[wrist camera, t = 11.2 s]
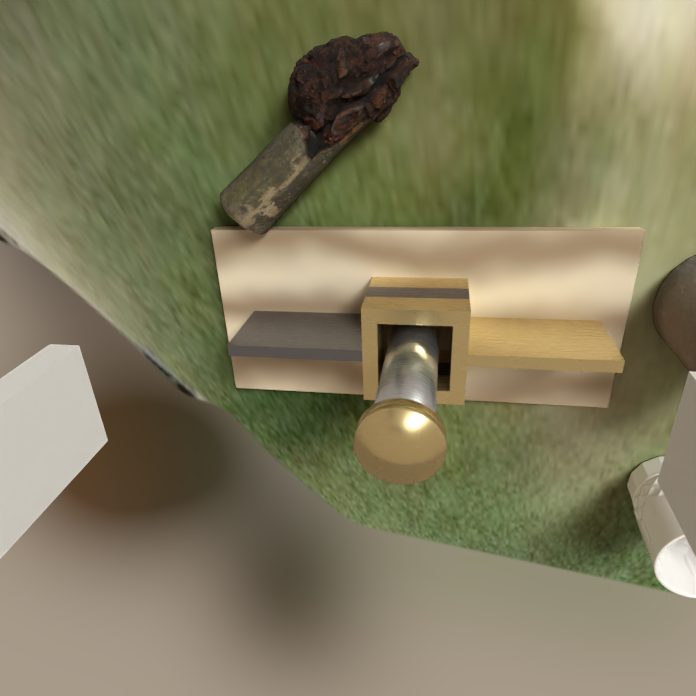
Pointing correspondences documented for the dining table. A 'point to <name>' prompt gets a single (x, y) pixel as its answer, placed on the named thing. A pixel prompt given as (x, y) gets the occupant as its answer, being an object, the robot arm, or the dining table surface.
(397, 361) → the hinge pin
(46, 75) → the dining table surface
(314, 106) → the branch with fungus
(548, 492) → the dining table surface
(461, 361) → the hinge
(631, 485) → the white cup
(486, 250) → the mounting board
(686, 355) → the pillar candle
